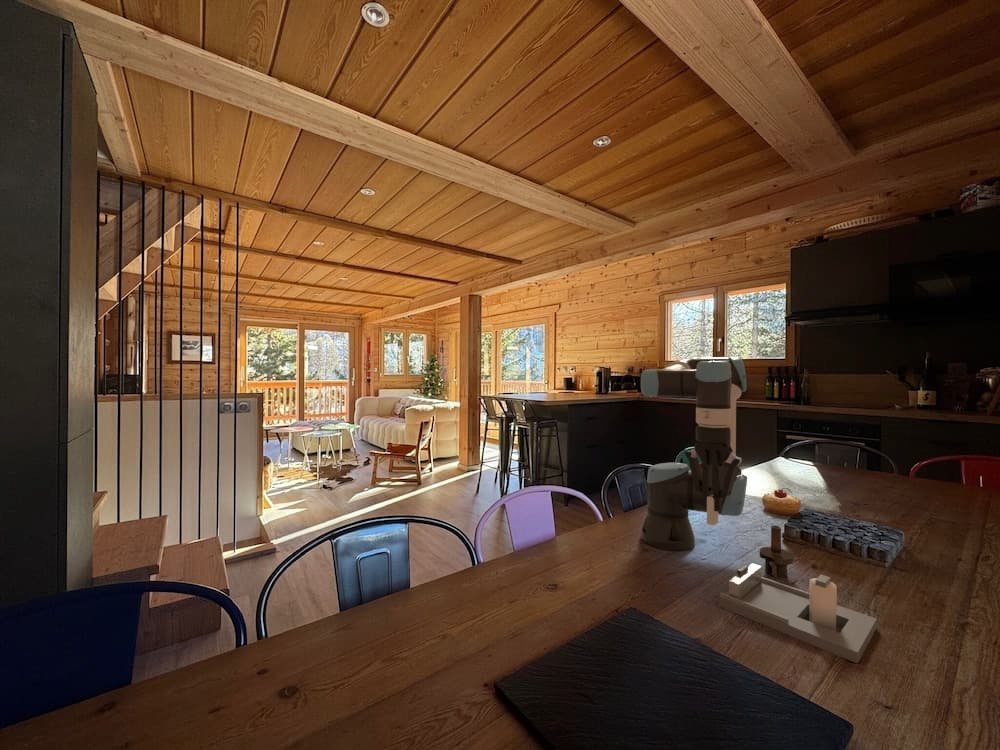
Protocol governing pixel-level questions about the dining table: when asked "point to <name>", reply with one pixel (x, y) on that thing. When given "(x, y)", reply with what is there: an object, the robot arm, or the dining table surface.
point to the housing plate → (802, 618)
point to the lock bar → (745, 580)
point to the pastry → (781, 503)
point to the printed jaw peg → (822, 602)
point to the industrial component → (776, 555)
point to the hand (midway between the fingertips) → (712, 523)
